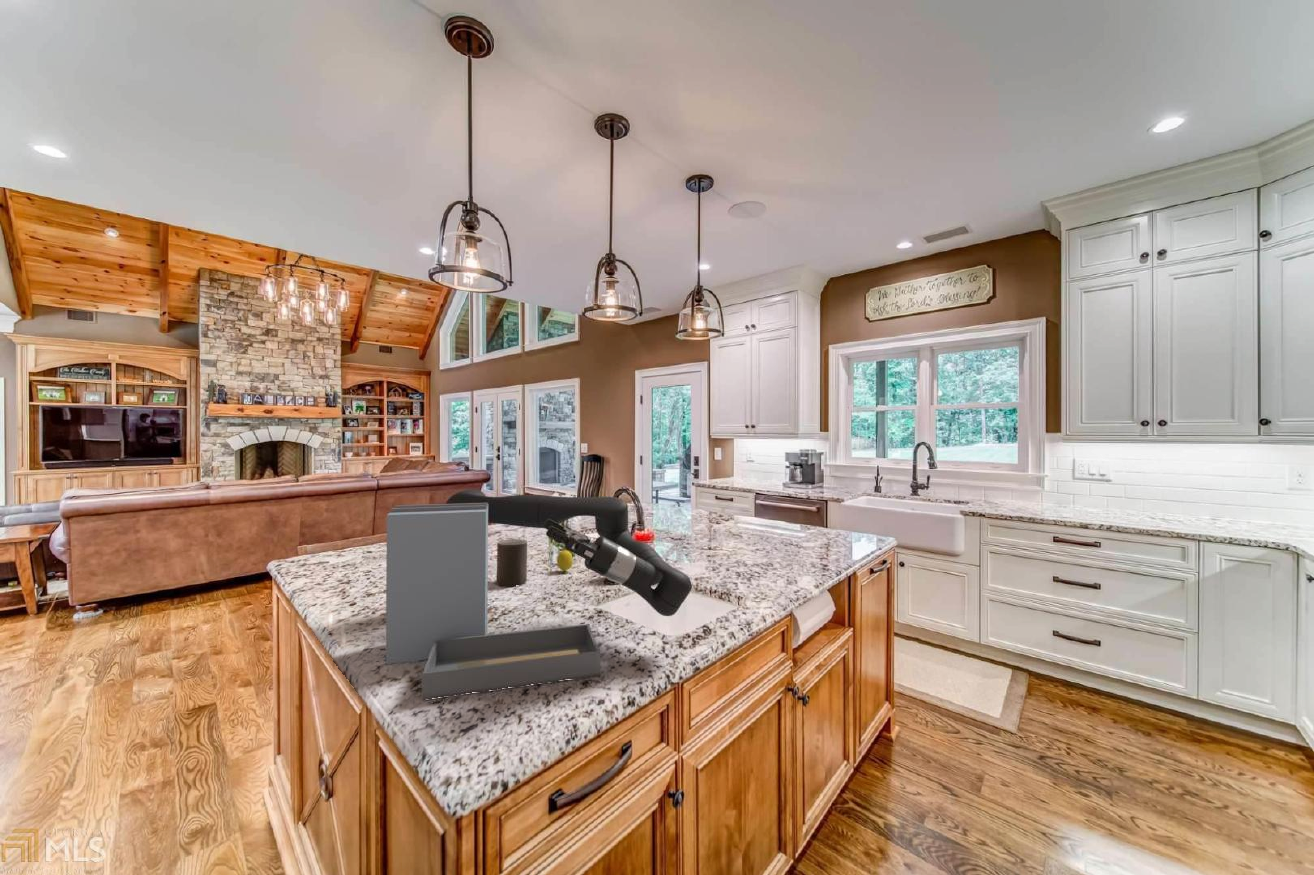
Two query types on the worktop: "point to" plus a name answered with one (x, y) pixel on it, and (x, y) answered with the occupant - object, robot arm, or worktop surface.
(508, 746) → the worktop surface
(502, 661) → the light wood thin rod
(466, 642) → the tray
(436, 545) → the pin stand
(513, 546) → the pillar candle
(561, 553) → the lemon
